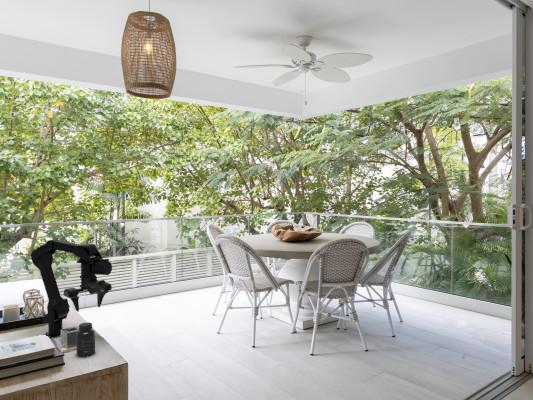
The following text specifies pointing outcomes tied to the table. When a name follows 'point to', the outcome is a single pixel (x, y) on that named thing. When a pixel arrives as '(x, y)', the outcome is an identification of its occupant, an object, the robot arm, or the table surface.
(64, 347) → the shaft plate
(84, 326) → the supplement bottle
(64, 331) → the hollow square tube
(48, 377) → the table surface
